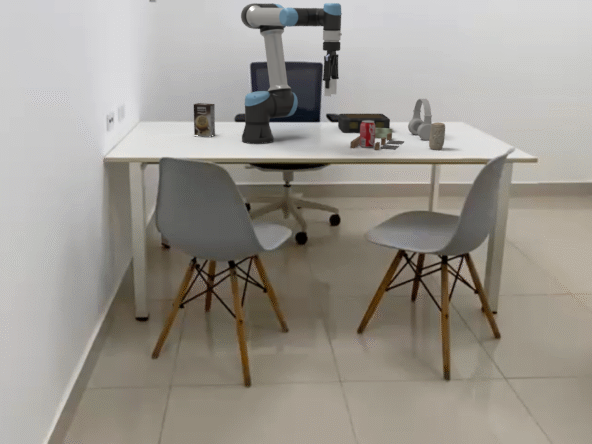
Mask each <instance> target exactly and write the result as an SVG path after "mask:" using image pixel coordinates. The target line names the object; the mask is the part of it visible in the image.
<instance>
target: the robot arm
mask: <svg viewBox="0 0 592 444" xmlns="http://www.w3.org/2000/svg"><path fill="white" fill-rule="evenodd" d="M342 15H343V13H342V5H341V3H338V2H337V3H335V2H334V3H333V2H328V3H327V2H326V3H324V4H323V7H321V8H319V7H311V8H310V7H283V5H281V4H279V3H257V2H256V3H255V2H254V3H249V4H247V5H245V6H244V7H243V8H242V10H241V13H240V19H241V22H242V24H243V25H244V26H245V27H247V28H249V29H252V30H259V33H260V35H261V37H263V41H264V47H265V49H264V50H265V57H266V65H267V73H268V74H267V75H268V81H269V88H268V90H259V91H253V92H252V91H251V92H250V93H247V94H246V95H245V98H244V117H245V118H244V120H245V121H244V123H245V124H244V127H243V131H242V134H241V142H242V143H245V144H246V143H247V144H253V143H254V145H255V144H256V145H257V144H258V145H259V144H268V143H269V144H270V143H272V142H273V141H274V136H273V135H274V134H273V133H272V129H271V126H270V125H271V124H270V119H275V118H277V119H278V118H287V117H291V116H293V115H294V114H295V113H296V111H297V110H298V109H297V108H298V104H299V102H298V97H297V95H296V93H295V92H292V88H291V86H289V85H288V77H287V70H286V68H287V67H286V62H285V55H284V45H283V37H282V35H283V34H284V32H285V28H286V27H288V28H289V27H316V28H317V27H323V29H322V40H323V42H322V51H324V52H325V51H326V55H323V75H322V81H323V82H324V93H323V94H324V95H323V96H324V97H331V96H332V95H337V85H338V84H337V83H338V81H337V80H339V78H340V77H339V54H337V52H339V51H341V42H340V41H341V36H342V30H341V29H342Z"/></svg>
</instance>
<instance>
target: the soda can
mask: <svg viewBox="0 0 592 444" xmlns="http://www.w3.org/2000/svg"><path fill="white" fill-rule="evenodd" d="M359 136H360V144H359V146H360V147H361V148H364V149H371V148H373V147H375V143H376V138H375V123H374V121H371V120H364V121H362V123H361V125H360V133H359Z"/></svg>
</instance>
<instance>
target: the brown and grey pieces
mask: <svg viewBox="0 0 592 444" xmlns="http://www.w3.org/2000/svg"><path fill="white" fill-rule="evenodd" d="M380 138H381V139H380ZM375 139H380V141H375V144H374V151H379V150H380V149H384V150H397V149H398V148H400V145H399V144H401V145H402V144H404V142H405V140H394V139H393V128H389V129H387V128H375ZM392 139H393V140H392ZM388 140H390V141H388ZM386 141H387V142H386ZM349 146H350V149H354V148H357V147H358V146H360V135H359V136H357V137H356V138H354V139H353V140H351V141H350V145H349ZM396 148H397V149H396Z"/></svg>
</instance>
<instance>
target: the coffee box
mask: <svg viewBox="0 0 592 444" xmlns="http://www.w3.org/2000/svg"><path fill="white" fill-rule="evenodd" d="M215 111H216V110H215V103H206V102H205V103H204V102H203V103H202V102H200V103H199V102H197V103H193V131H194V132H193V133H194V134H193V135H198V136H212V135H215V136H216V126H215V125H216V124H215V120H216V118H215V117H216V116H215V113H216V112H215Z"/></svg>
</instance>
